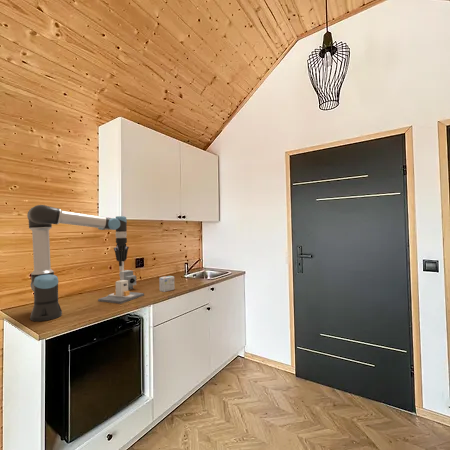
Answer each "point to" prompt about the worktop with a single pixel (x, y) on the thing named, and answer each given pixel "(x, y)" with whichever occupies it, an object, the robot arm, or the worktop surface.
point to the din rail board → (121, 297)
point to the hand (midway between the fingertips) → (121, 270)
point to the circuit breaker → (128, 278)
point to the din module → (121, 287)
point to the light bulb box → (166, 283)
